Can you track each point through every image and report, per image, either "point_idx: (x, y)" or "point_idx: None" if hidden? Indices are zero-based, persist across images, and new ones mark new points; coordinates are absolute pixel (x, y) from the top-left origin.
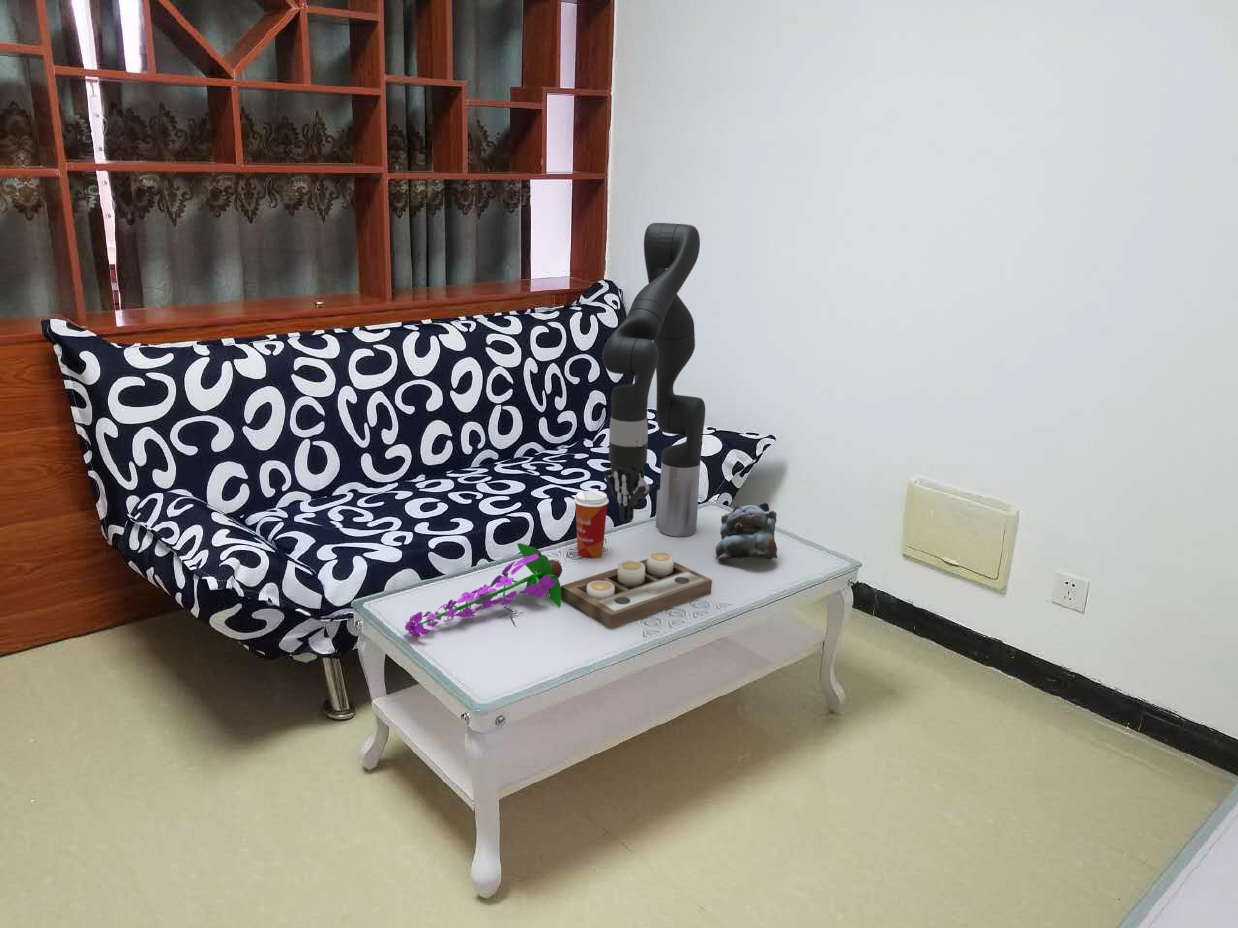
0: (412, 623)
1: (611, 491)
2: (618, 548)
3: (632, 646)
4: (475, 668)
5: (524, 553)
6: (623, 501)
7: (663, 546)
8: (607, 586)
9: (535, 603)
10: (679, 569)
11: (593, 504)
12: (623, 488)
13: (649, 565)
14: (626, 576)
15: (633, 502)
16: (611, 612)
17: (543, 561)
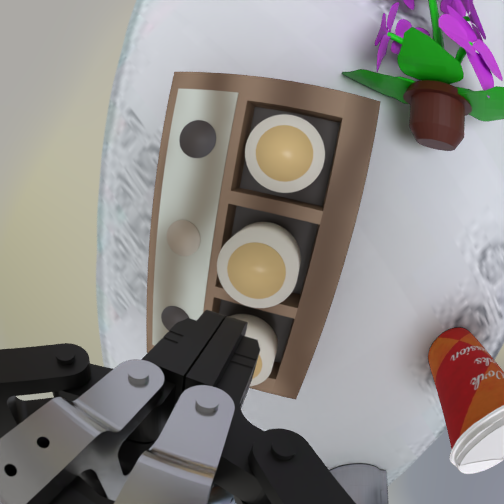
0: None
1: (317, 477)
2: (411, 396)
3: (126, 71)
4: None
5: None
6: (148, 388)
7: (341, 439)
8: (266, 161)
9: (397, 61)
10: None
11: (483, 424)
12: (41, 456)
13: (250, 325)
14: (247, 228)
15: (35, 351)
16: (181, 80)
17: (446, 74)
